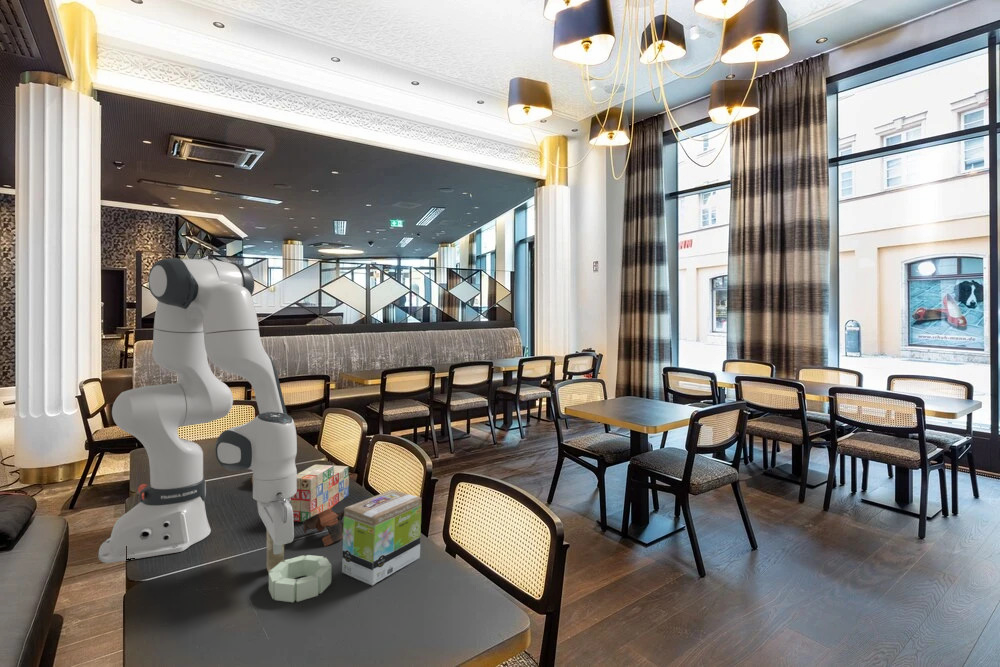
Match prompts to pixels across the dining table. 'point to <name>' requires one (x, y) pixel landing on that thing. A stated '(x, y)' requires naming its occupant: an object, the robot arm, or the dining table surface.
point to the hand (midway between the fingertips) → (275, 548)
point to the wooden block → (271, 557)
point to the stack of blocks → (319, 490)
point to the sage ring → (302, 588)
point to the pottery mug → (326, 525)
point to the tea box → (381, 535)
